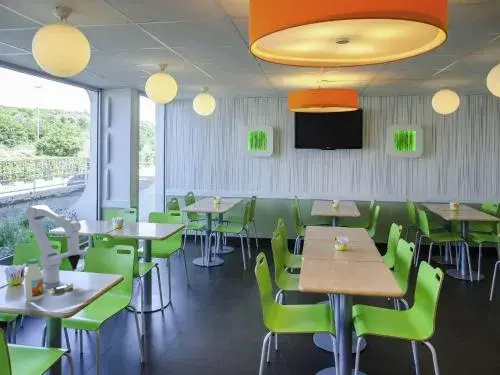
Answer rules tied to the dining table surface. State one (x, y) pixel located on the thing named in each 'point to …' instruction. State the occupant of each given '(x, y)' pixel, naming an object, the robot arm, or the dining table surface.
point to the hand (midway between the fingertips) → (74, 269)
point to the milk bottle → (33, 281)
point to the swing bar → (67, 287)
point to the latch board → (62, 290)
